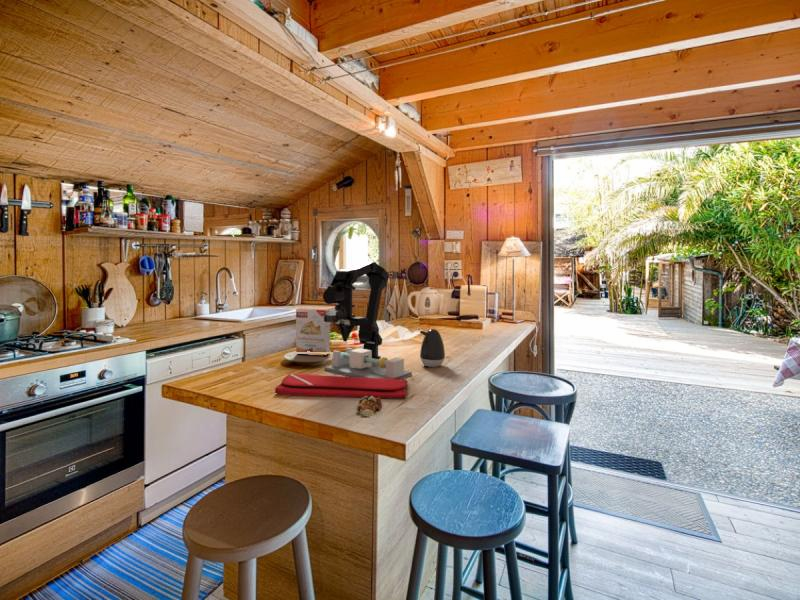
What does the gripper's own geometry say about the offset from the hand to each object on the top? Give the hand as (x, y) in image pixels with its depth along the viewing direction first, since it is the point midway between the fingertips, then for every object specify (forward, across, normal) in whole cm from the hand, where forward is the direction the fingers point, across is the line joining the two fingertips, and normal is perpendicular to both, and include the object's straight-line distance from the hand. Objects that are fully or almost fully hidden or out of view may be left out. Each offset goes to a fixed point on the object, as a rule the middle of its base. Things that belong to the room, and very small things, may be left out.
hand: (345, 341), depth 164 cm
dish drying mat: (+11, +20, -21) cm, 31 cm away
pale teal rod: (+8, +11, 0) cm, 13 cm away
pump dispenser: (+11, +25, +25) cm, 37 cm away
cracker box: (+11, -27, +7) cm, 30 cm away
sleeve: (+9, +8, 0) cm, 12 cm away
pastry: (+11, +39, -30) cm, 50 cm away
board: (+10, +12, 0) cm, 16 cm away
